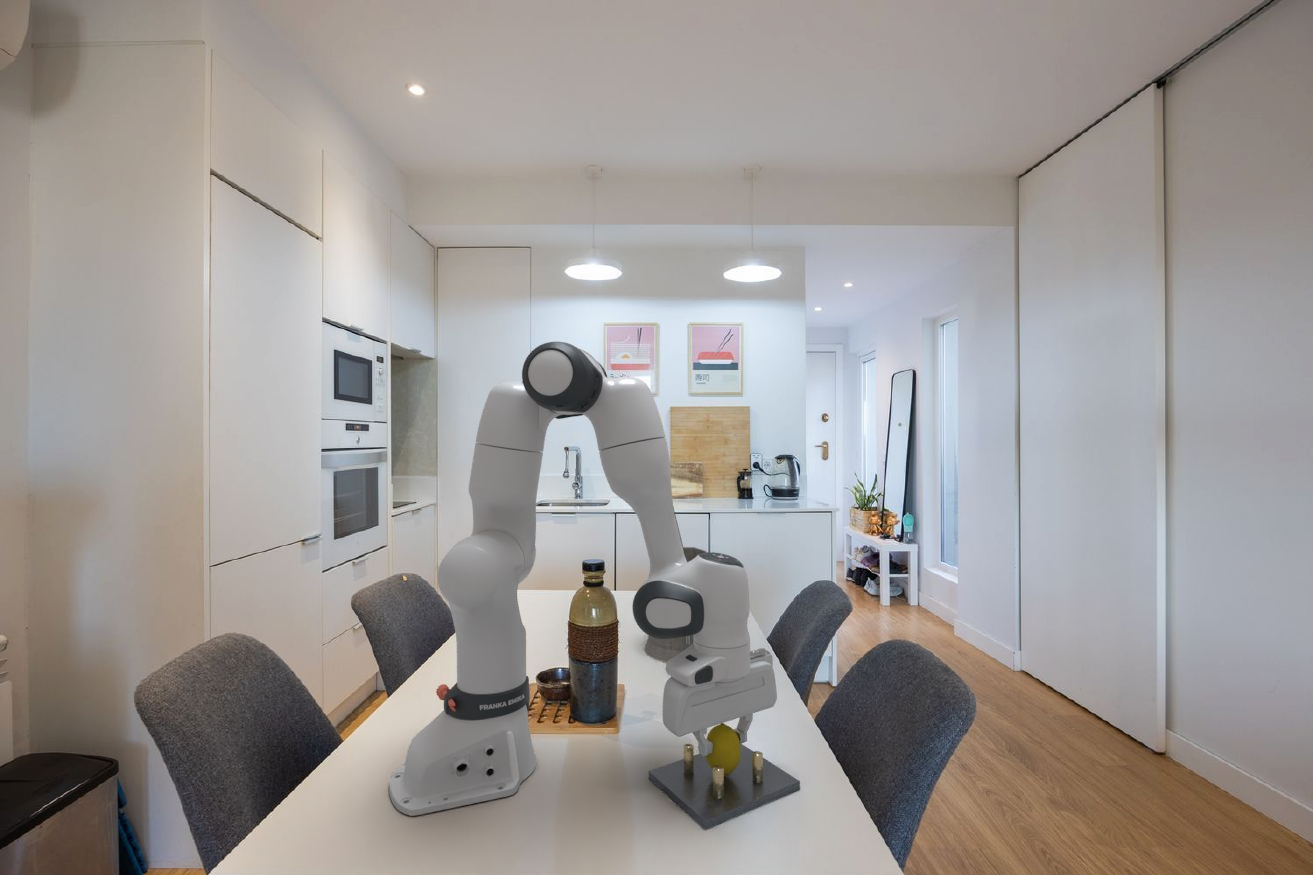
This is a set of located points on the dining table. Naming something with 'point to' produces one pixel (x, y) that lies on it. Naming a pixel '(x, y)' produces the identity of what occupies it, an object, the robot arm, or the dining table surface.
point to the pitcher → (673, 646)
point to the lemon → (724, 748)
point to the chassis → (722, 785)
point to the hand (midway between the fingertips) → (723, 747)
